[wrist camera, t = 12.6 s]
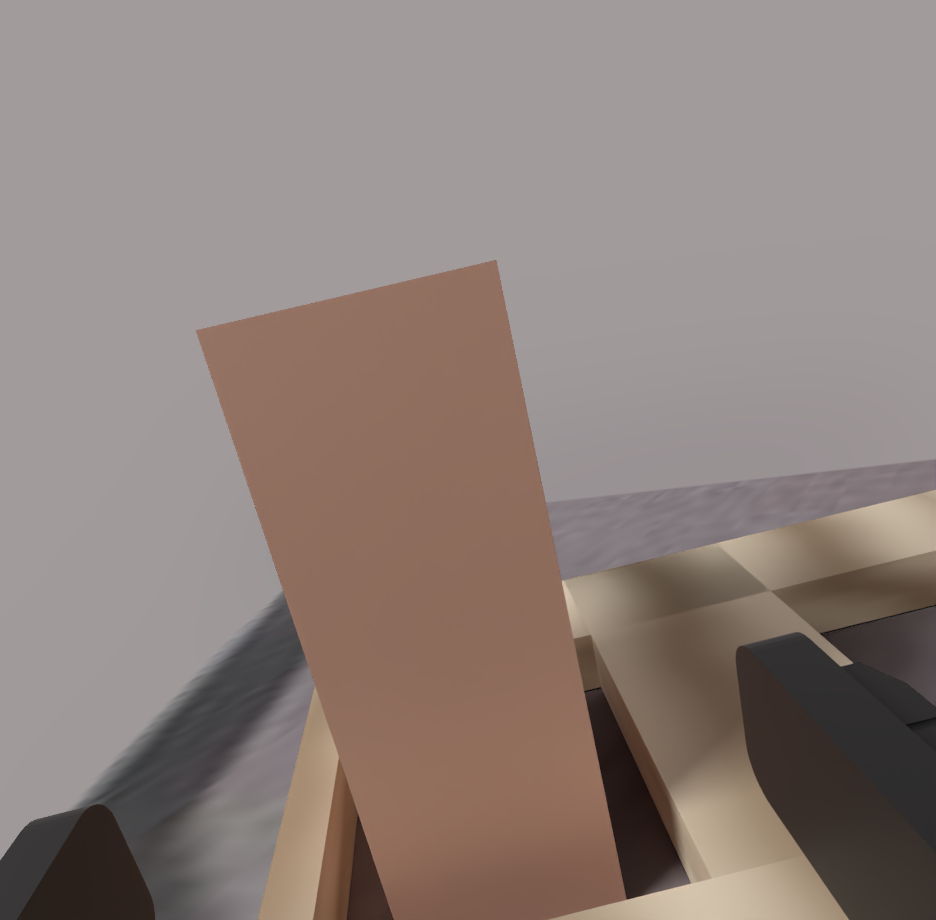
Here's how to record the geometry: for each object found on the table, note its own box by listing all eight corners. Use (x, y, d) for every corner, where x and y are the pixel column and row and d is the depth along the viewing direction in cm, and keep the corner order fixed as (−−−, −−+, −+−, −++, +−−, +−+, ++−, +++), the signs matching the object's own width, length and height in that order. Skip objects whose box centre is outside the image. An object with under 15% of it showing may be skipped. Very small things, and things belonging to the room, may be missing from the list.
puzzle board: (1120, 492, 26) (1122, 444, 25) (2319, 852, 10) (2399, 740, 9) (341, 682, 25) (326, 637, 25) (210, 1401, 9) (159, 1318, 9)
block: (567, 727, 20) (467, 266, 16) (627, 905, 15) (496, 259, 11) (409, 767, 20) (272, 312, 16) (407, 960, 14) (195, 330, 11)
